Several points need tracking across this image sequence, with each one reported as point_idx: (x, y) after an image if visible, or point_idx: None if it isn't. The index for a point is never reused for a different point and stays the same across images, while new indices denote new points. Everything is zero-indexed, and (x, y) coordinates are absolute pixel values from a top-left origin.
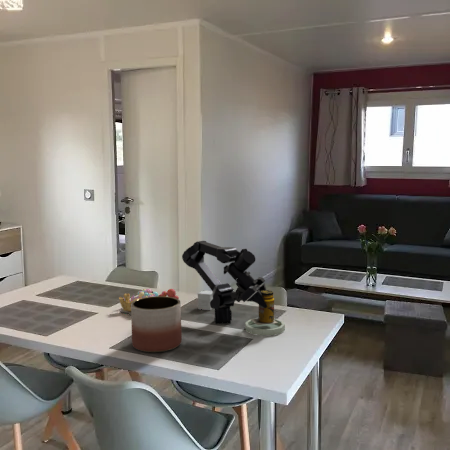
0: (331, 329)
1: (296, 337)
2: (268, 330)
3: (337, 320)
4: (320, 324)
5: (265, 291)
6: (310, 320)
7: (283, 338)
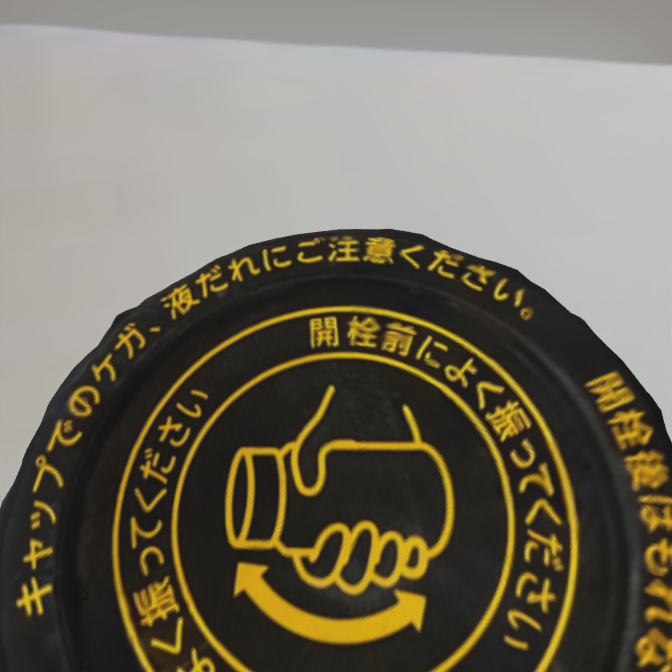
0: (239, 40)
1: (530, 237)
2: None
3: (10, 31)
4: (121, 117)
5: (269, 599)
6: (8, 200)
7: (613, 343)
